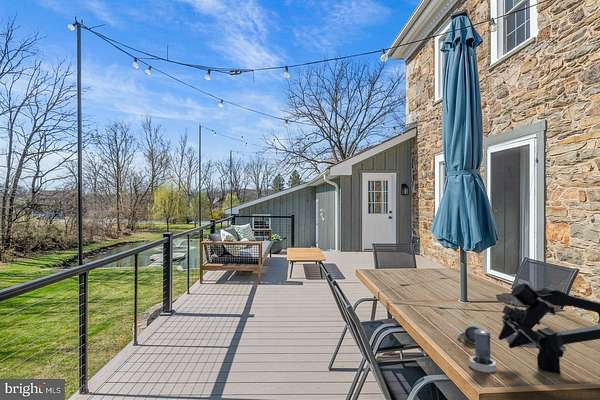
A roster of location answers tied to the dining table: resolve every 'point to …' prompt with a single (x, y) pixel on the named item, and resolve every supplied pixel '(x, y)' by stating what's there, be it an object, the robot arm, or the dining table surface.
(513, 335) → the notebook
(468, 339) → the ceramic mug
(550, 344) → the robot arm
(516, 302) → the ceramic cottage
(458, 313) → the dining table surface
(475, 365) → the collar
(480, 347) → the canister
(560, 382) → the dining table surface
